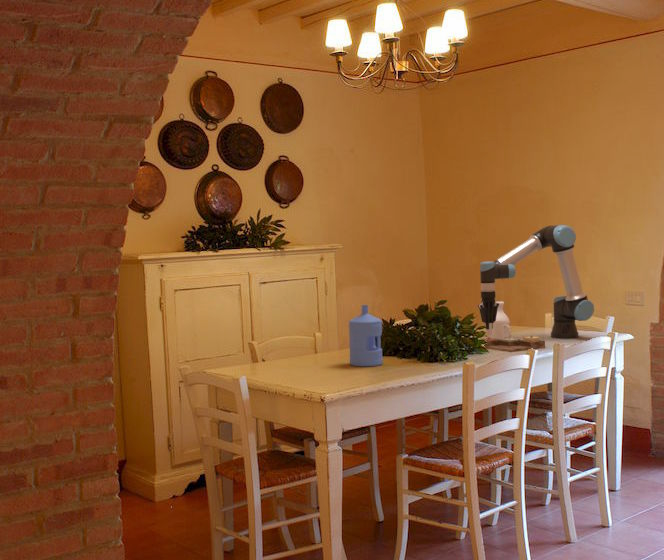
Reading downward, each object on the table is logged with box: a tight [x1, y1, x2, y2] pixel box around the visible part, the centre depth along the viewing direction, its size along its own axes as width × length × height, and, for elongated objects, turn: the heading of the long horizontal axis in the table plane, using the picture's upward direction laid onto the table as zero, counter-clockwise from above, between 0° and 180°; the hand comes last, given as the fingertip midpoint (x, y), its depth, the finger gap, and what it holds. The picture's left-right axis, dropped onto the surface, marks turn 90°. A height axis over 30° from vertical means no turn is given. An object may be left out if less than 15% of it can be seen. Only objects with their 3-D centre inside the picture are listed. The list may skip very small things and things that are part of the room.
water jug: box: [348, 304, 384, 368], centre depth 400 cm, size 16×16×28 cm
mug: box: [490, 321, 512, 340], centre depth 472 cm, size 12×8×10 cm
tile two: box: [481, 337, 497, 341], centre depth 449 cm, size 6×6×3 cm
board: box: [484, 339, 546, 353], centre depth 445 cm, size 24×27×4 cm
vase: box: [485, 300, 511, 338], centre depth 490 cm, size 14×14×20 cm
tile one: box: [502, 337, 519, 342], centre depth 445 cm, size 6×6×3 cm
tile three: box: [522, 335, 541, 342], centre depth 441 cm, size 6×6×3 cm
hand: (489, 335), depth 449 cm, fingers closed
